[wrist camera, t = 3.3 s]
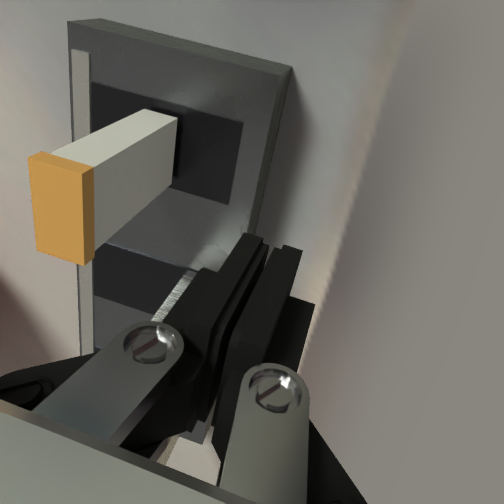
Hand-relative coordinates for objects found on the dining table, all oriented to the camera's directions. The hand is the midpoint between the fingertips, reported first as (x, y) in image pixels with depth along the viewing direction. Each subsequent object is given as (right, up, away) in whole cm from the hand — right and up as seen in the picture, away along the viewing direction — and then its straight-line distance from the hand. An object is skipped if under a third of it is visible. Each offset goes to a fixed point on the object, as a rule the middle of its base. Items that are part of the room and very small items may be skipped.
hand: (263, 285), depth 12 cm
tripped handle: (-4, +5, +7) cm, 10 cm away
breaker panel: (-5, 0, +13) cm, 14 cm away
